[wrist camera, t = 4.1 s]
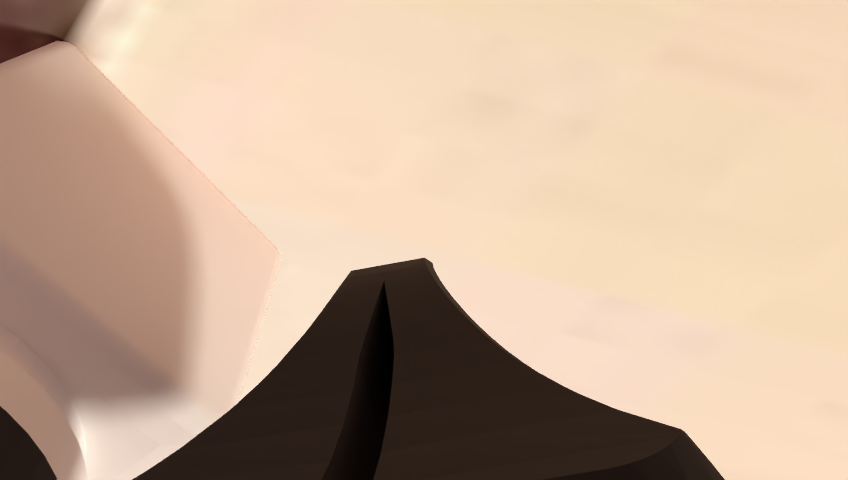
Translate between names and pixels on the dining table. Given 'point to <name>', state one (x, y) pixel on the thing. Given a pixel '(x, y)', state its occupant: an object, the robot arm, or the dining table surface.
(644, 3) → the dining table surface
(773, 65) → the dining table surface
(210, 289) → the medicine bottle
